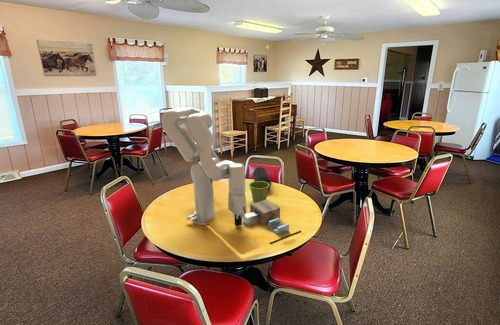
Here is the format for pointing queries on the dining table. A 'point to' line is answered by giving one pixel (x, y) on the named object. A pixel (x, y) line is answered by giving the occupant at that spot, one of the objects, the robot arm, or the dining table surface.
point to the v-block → (279, 229)
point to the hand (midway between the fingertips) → (238, 224)
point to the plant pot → (259, 190)
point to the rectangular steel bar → (251, 218)
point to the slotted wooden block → (265, 211)
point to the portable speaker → (261, 175)
